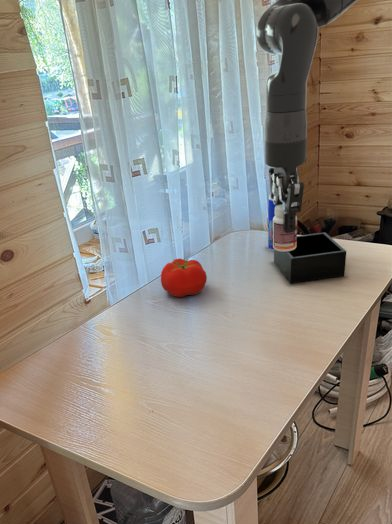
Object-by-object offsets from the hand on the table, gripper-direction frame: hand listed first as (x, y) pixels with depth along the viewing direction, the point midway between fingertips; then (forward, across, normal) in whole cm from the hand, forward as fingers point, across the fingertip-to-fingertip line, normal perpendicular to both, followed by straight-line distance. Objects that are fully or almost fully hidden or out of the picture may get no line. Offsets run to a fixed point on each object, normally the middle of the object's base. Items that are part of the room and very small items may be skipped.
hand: (284, 226), depth 102 cm
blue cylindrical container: (+20, +35, -10) cm, 41 cm away
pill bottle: (+5, 0, 0) cm, 5 cm away
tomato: (+19, +16, +20) cm, 32 cm away
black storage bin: (+20, +19, -12) cm, 30 cm away
